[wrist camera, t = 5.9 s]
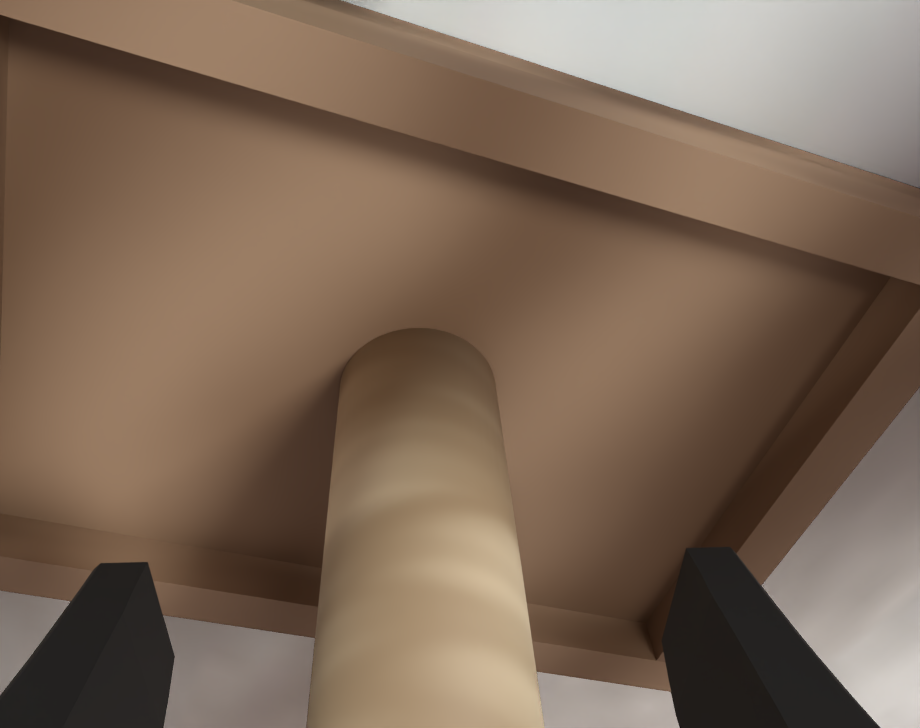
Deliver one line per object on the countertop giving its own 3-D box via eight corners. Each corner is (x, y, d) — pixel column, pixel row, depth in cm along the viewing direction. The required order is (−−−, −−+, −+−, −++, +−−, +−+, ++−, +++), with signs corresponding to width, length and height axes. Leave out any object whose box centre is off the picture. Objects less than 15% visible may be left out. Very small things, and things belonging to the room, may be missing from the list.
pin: (495, 323, 15) (566, 783, 8) (496, 446, 16) (556, 909, 10) (330, 332, 15) (273, 802, 8) (348, 455, 16) (312, 927, 10)
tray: (971, 205, 15) (1028, 251, 13) (659, 634, 21) (676, 692, 20) (-56, -128, 11) (-116, -110, 10) (-47, 515, 17) (-82, 578, 16)
